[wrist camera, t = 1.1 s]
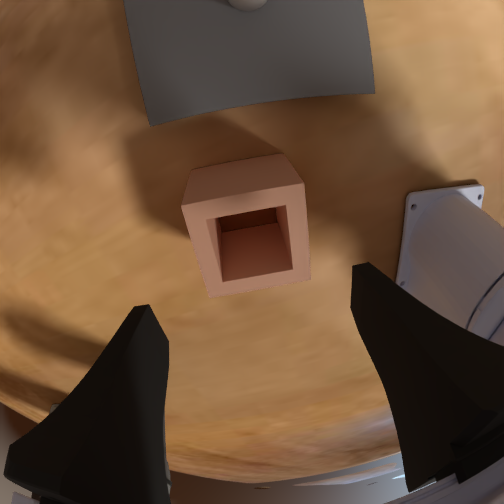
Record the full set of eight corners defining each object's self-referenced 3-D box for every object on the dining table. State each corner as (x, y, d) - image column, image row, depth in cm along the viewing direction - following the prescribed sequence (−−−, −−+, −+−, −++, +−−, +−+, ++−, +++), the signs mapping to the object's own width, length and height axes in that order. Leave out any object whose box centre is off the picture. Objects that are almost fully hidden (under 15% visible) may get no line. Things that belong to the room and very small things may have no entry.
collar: (292, 232, 20) (310, 279, 16) (211, 246, 20) (209, 297, 16) (283, 153, 17) (304, 183, 13) (191, 169, 17) (180, 205, 13)
